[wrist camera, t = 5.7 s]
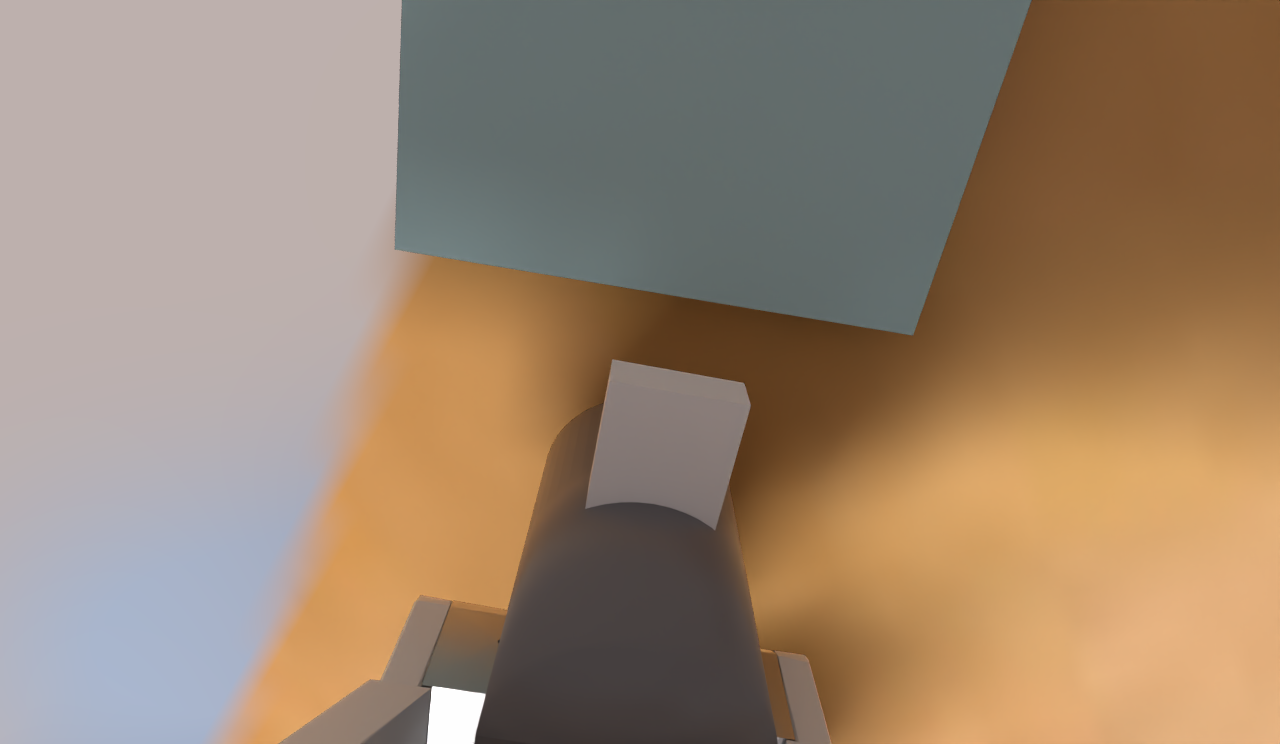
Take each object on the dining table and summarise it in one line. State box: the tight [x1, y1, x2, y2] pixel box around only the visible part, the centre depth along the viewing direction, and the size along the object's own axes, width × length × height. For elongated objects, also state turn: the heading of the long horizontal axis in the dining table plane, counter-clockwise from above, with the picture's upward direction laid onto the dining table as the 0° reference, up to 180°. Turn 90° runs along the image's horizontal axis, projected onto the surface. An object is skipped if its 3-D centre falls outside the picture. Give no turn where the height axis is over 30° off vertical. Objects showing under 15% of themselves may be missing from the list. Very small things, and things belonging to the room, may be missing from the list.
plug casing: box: [474, 359, 778, 744], centre depth 10 cm, size 3×9×5 cm, turn 169°
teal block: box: [395, 0, 1032, 335], centre depth 9 cm, size 8×8×1 cm
